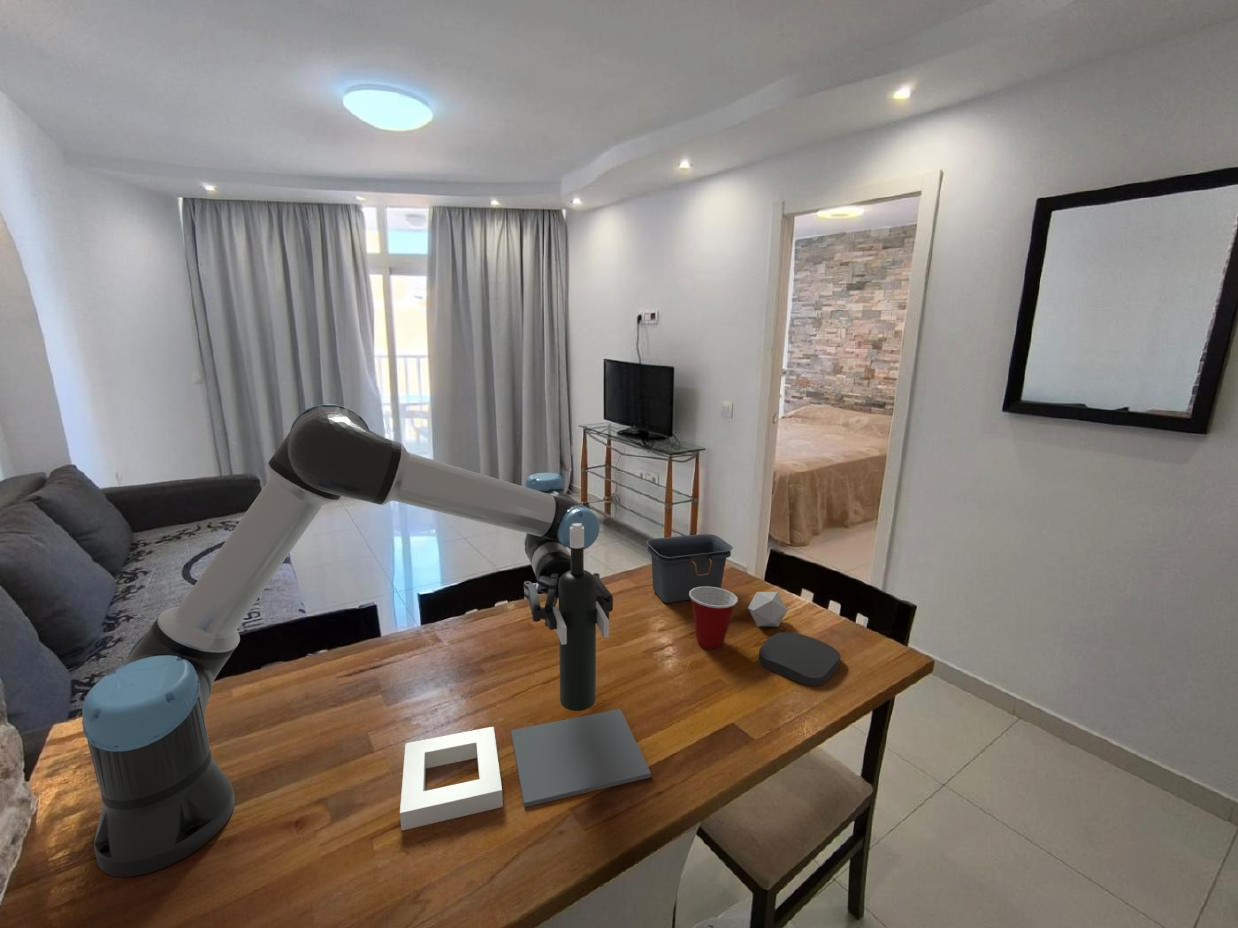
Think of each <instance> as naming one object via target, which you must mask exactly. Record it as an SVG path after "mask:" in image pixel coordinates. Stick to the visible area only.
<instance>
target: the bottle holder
mask: <svg viewBox="0 0 1238 928" xmlns="http://www.w3.org/2000/svg"><path fill="white" fill-rule="evenodd" d="M495 735H496V734H495V727H494V726H489V727H488V726H487V727H484V728H479V729H478V728H477V729H473V730H469V731H464V732H458V733H452V734H446V735H443V736H442V735H441V736H437V737H431V738H426V739H423V740H422V739H421V740H416V741H411V742H407V743H406V742H405V745H404V746H405V747H404V749H405V750H404V758H403V771H402V772H403V773H402V782H401V785H402V786H401V794H400V806H399V817H400V819H399V820H400V830H401V831H405V830H411V829H415V828H418V827H423V826H427V825H428V826H429V825H431V824H436V823H439V822H441V823H442V822H444V821H449V820H453V819H458V818H462V817H465V816H469V815H475V814H478V813H482V812H487V811H490V810H495V809H500V808H503V807H504V805H503V804H504V803H503V789H502V779H501V771H500V765H499V758H498V757H499V756H498V749H497V742H496V736H495ZM473 759H477V761H476V762H477V769H478V779H473V780H469V781H465V782H461V783H456V784H450V785H446V786H442V787H438V788H432V789H428V790H426V779H427V777H426V774H427V773H426V772H427V769H432V768H434V767H435V768H436V767H439V766H444V765H449V764H455V763H460V762H463V761H469V760H473Z"/></svg>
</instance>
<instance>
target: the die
mask: <svg viewBox="0 0 1238 928" xmlns="http://www.w3.org/2000/svg"><path fill="white" fill-rule="evenodd" d="M747 609H748V611H749V612H750V615H751V617H752V618H753V621H754V623H755V625H756V626H757V627H758V628H759V627H760V628H761V627H768V628H770V627H773V628H774V627H775V628H776V627H779V626H780V624H781V623H782V621H783V619H784V617H785V616H786V614H787V612H788V609H787V607H786V605H785V603H784V601H783V599H782V598H781V596H780V594H779V592H777V591H756V592H755V594H754V596H753V598H752V599H751V601H750V604H749V605H748V607H747Z"/></svg>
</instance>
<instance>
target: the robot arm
mask: <svg viewBox="0 0 1238 928" xmlns="http://www.w3.org/2000/svg"><path fill="white" fill-rule="evenodd" d="M266 466H267V469H268V472H269V477H270V478H269V480H267V482H266V484H265V485H264V487H263V488H262V489H261V490H260V492H259V493H258V495H257V496H256V498H255V499H254V501H253V502H252V504H251V505H250V506H249V507H248V509H247V511H245V513H244V515H243V516H242V518H241V519H240V520H239V522H238V523H237V524H236V526H235V527H234V529H233V530H232V532H231V533H230V534H229V536H228V537H227V539H226V540H225V541H224V542H223V544H222V546H221V547H220V548H219V550H218V551H217V553H216V554H215V555H214V557H213V559H212V560H211V561H210V562H209V564H208V566H207V567H206V568H205V570H204V571H203V573H201V576H200V577H199V578H198V579H197V580H196V582H195V583H194V584H193V587H191V589H190V591H189V592H188V593H187V595H186V597H184V599H183V600H182V602H181V603H180V604H179V606H176V607H175V606H174V607H170V608H167V609H165V610H163V611H162V612H161V613H160V614H159V615H158V617H157V618H156V620H155V621H154V622H153V624H152V625H151V626H150V628H149V629H148V630H147V632H145V633H144V635H142V636H141V637H139V638H138V640H137V641H136V642H135V643H134V645H133V646H132V648H131V650H130V652H129V653H128V656H127V658H126V660H125V663H124V664H123V665H121V666H120V667H118V668H116V669H114V671H113V672H112V673H113V674H108V675H105V676H104V677H103V678H101V679H100V680H98V682H97V683H95V685H93V687H91V688H90V690H89V691H88V693H87V694H86V696H85V698H84V700H83V703H82V710H81V712H82V713H81V714H82V719H81V720H82V721H81V724H82V732H83V734H84V737H85V738H86V741H87V745H88V749H89V752H90V757H91V761H92V764H93V765H92V766H93V769H94V773H95V776H96V780H97V784H98V785H97V786H98V789H99V792H100V795H101V801H102V806H101V810H100V815H99V819H98V824H97V828H96V833H95V836H94V837H95V838H94V841H93V849H94V850H93V851H94V855H95V858H96V863H97V866H98V868H99V869H100V870H101V871H102V872H104V873H105V874H107V875H110V876H111V877H112V876H114V877H118V878H119V877H122V878H125V877H136V876H141V875H147V874H149V873H150V874H151V873H153V872H156V871H160V870H162V869H165V868H167V867H169V866H172V865H174V864H177V863H178V862H180V861H181V860H183V859H185V858H187V857H189V856H190V855H192V854H194V853H195V852H196V851H198V850H199V849H201V848H202V847H203V846H205V845H206V844H207V843H208V842H209V841H210V840H212V839H213V838H215V836H216V835H218V833H219V832H220V831H221V830H222V829H223V828H224V826H225V825H226V824H227V823H228V821H229V819H230V817H231V816H232V814H233V811H234V808H235V802H236V799H235V792H234V787H233V783H232V782H231V781H230V779H229V778H228V776H226V774H225V773H224V771H223V770H222V769H221V768H220V766H219V765H218V764H217V762H216V761H215V760H214V759H213V756H212V753H211V752H212V751H211V747H210V741H209V735H208V731H207V729H208V728H207V725H206V710H207V707H208V703H209V700H210V695H211V692H212V688H213V685H214V683H215V680H216V678H217V676H218V675H219V673H220V671H221V670H222V668H223V667H224V666H225V664H226V663H227V661H228V660H229V659H230V657H231V656H232V654H233V653H234V651H235V650H236V649H237V647H238V645H239V643H240V641H241V637H240V633H239V631H238V628H239V626H240V625H241V623H242V622H243V620H244V619H245V618H246V616H247V615H248V613H249V612H250V611H251V609H252V608H253V606H254V604H255V603H256V602H257V600H258V599H259V598H260V596H261V595H262V593H263V592H264V590H265V589H266V587H267V586H268V585H269V583H270V582H271V580H272V579H273V577H274V576H275V574H277V572H278V570H279V569H280V568H281V566H282V564H283V563H284V561H285V560H286V559H287V557H289V554H290V553H291V552H292V550H293V549H294V547H295V546H296V544H297V543H298V542H299V540H300V539H301V537H302V536H303V534H304V533H305V531H306V530H307V529H308V527H309V525H310V524H311V523H312V521H313V520H314V519H315V517H316V516H317V514H318V513H319V511H320V510H321V509H322V507H323V506H324V505H326V504H331V503H336V502H338V501H339V500H340V499H341V497H344V498H351V499H354V500H359V501H363V502H368V503H372V504H376V505H381V506H383V505H386V504H388V503H390V502H392V501H393V502H397V503H401V504H406V505H410V506H413V507H418V508H422V509H425V510H426V509H427V510H430V511H434V512H438V513H443V514H446V515H449V516H450V515H452V516H455V517H460V518H464V519H467V520H471V521H476V522H478V523H479V522H480V523H484V524H488V525H491V526H497V527H501V528H504V529H509V530H512V531H516V532H521V533H523V534H524V533H525V534H526V535H525V537H524V541H523V542H524V543H523V544H524V551H525V554H526V556H527V559H528V560H529V563H530V566H531V567H532V570H533V573H534V575H535V578H536V580H537V582H536V583H535V582H534V583H533V582H531V581H529V580H526V581H524V582H523V594H524V596H523V597H525V598H526V599H527V600H528V602H529V608H530V612H531V618H532V621H533V622H536V623H538V622H540V621H541V620H543V621H544V625H545V626H546V627H547V628H548V629H549V630H550V631H553V630H555V631H556V634H557V637H558V640H559V639H560V642H561V644H562V645H563V644H567V629H566V625H565V623H564V620H563V618H562V616H561V613H560V611H559V606H557V603H558V601H559V592H558V583H559V579H560V577H561V576H562V575H563V574H564V573H565V572H567V571H569V570H571V553H570V552H569V550H571V547H570V527H571V526H572V523H573V524H574V523H582V526H583V527H584V550H585V549H588V548H590V547H591V546H592V545H593V544H595V542H596V540H597V539H598V537H599V534H600V529H601V528H600V527H601V526H600V521H599V518H598V517H597V515H596V514H595V513H594V512H593V511H592V510H591V509H590V508H589V507H588V506H586V505H584V504H582V503H580V502H579V501H576V500H575V499H574V498H572V497H571V496H569V495H568V494H566V493H565V489H566V488H565V483H564V477H563V476H562V475H561V474H559V473H554V472H537V473H533V474H531V475H529V476H527V478H526V479H525V486H523V485H520V484H517V483H512V482H510V481H506V480H503V479H499V478H496V477H492V476H489V475H485V474H482V473H479V472H474V471H472V470H468V469H465V468H463V467H458V466H455V465H452V464H448V463H445V462H442V461H438V460H436V459H432V458H429V457H425V456H422V455H418V454H415V453H412V452H409V451H408V450H407V449H406V447H405V445H404V444H403V443H402V442H398V441H395V440H392V439H389V438H386V437H384V436H381V435H379V434H378V433H376V432H374V431H372V430H370V428H369V426H368V424H367V422H366V421H365V420H364V418H363V417H362V416H361V415H359V414H357V413H356V412H355V411H354V410H352V409H349V408H347V407H345V406H343V405H338V404H331V403H330V404H329V403H328V404H327V403H325V404H323V403H322V404H318V405H313V406H311V407H309V408H307V409H305V410H303V411H302V412H301V413H299V415H298V416H297V417H296V418H295V420H294V421H293V422H292V424H291V428H290V431H289V433H288V434H287V436H286V437H285V438H284V440H283V441H282V442H281V444H280V445H279V446H278V448H277V450H275V453H274V454H273V455H272V456H271V458H270V459H269V461H267V464H266ZM567 548H568V549H569V550H568V549H567ZM592 575H593V576H594V578H595V580H596V627H598V629H599V631H600V633H601V635H602V637H603V638H604V639H607V638H608V639H609V638H610V612H612V611H614V609H613V608H614V596H613V594H612V593H611V592H610V590H609V589H608V588H607V587H606V585H605V584H604V583H603V582H602V580H601V579H600V573H598V572H594V573H593V574H592ZM539 592H540V593H543V594H545V595H546V596H547V597H546V600H545V604H544V606H541V603H540V599H539V595H538V594H539Z"/></svg>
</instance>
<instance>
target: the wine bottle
mask: <svg viewBox="0 0 1238 928" xmlns="http://www.w3.org/2000/svg"><path fill="white" fill-rule="evenodd" d="M570 547H571V549H570V555H571V570H569V571H567V572H565V573H564V574H563V575H562V576H561V577H560V579H559V583H558V592H559V598H558V609H559V611H560V613H561V616H562V618H563V620H564V623H565V625H566V629H567V644H563V645H562V644H561V642H560V639H559V638H558V641H559V642H558V644H559V645H558V647H559V649H558V650H559V653H558V654H559V656H558V659H559V701H560V704H561V706H562V707H563V708H565V709H566V710H569V711H572V712H581V711H586V710H588V709H590V708H591V707H593V706H594V705H595V702H596V699H597V695H596V694H597V688H596V687H597V686H596V684H597V681H596V679H597V676H596V675H597V673H596V672H597V671H596V670H597V661H596V660H597V645H596V644H597V624H596V580H595V578H594V576H593V574H592V573H591V572H590V571H588V570H587V569H586V570H585V569H584V565H585V564H584V562H585V561H584V560H585V559H584V555H585V554H584V550H585V549H584V527H583V526H582V523H574V524H573V523H572V526H571V527H570Z"/></svg>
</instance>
